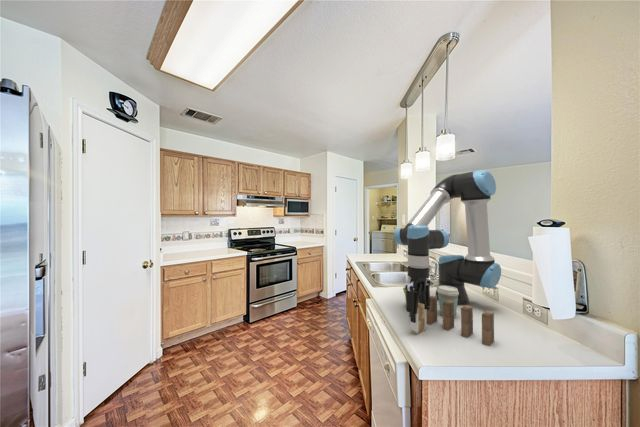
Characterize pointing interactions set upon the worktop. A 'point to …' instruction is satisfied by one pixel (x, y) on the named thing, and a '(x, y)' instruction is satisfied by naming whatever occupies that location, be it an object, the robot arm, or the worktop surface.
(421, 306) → the tile
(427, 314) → the tile
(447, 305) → the tile
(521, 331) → the worktop surface
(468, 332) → the tile
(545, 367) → the worktop surface
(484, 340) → the tile
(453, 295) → the coffee cup
